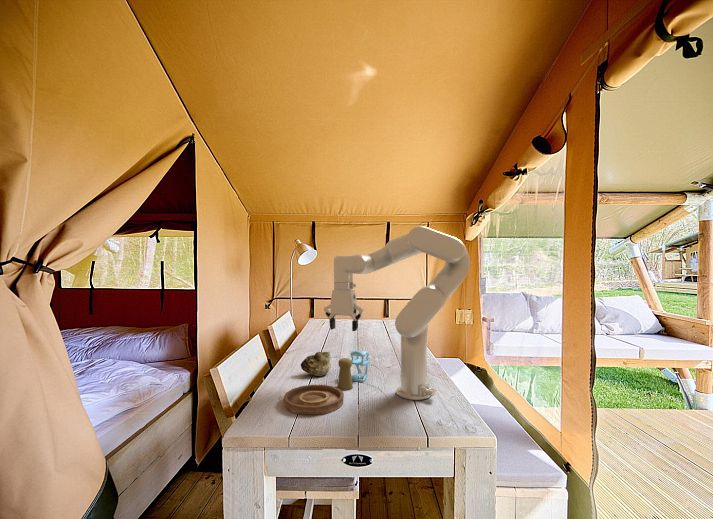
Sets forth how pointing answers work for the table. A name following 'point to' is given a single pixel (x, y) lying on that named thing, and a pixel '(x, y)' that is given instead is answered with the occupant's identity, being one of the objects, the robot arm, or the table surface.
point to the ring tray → (313, 399)
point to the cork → (345, 375)
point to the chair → (361, 363)
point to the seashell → (317, 364)
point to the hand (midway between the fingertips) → (343, 329)
